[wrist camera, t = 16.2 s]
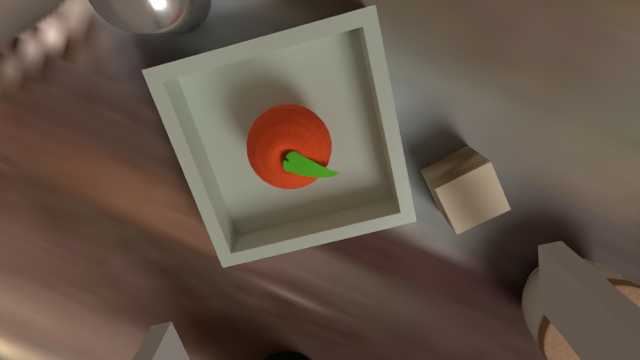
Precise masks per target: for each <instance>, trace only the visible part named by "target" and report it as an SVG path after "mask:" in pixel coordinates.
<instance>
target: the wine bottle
mask: <svg viewBox="0 0 640 360" xmlns="http://www.w3.org/2000/svg"><path fill="white" fill-rule="evenodd" d="M265 360H311V359H309V358H307V357H306V356H304V355H303V354H299V353H290V352H282V353H278V354H275V355H272V356H269V357H267V358H266V359H265Z"/></svg>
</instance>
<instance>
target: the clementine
mask: <svg viewBox="0 0 640 360" xmlns="http://www.w3.org/2000/svg"><path fill="white" fill-rule="evenodd" d="M246 146H247V157H248V160H249V163H250V165H251V167H252V169H253V170H254V172H255V173H256V174H257V175H258V176H259V177H260V178H261V179H262V180H263V181H264V182H266V183H268V184H270V185H272V186H274V187H278V188H282V189H297V188H302V187H305V186H307V185H309V184H311V183H313V182H315V181H316V180H317V179H318V178H319V177H321V178H324V177H332V176H336V175H337V174H339V173H340V172H335V171H332V170H329V169H327V166H328V163H329V160H330V156H331V153H332V141H331V137H330V133H329V130H328V129H327V127H326V125H325V123H324V122H323V121H322V120H321V119H320V118H319V117H318V116H317V115H316V114H315V113H314V112H313V111H311V110H309V109H307V108H306V107H303V106H299V105H295V104H283V105H279V106H275V107H272V108H270V109H269V110H267V111H265V112H263V113H262V114H261V115H260V116H259V117H258V118H257V119H256V120H255V121H254V123H253V125H252V126H251V128H250V130H249V133H248V138H247V144H246Z"/></svg>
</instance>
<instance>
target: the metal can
mask: <svg viewBox="0 0 640 360" xmlns="http://www.w3.org/2000/svg"><path fill="white" fill-rule="evenodd" d="M89 2H90V4H91V5H92V7H93V8H94V9H95V11H96V12H97V13H98V14H99V15H100V16H101V17H102V18H103V19H104V20H105V21H107V22H108V23H109V24H111V25H112V26H114V27H116V28H118V29H121V30H123V31H127V32H131V33H163V34H182V33H187V32H190V31H193V30H194V29H196V28H197V27H199V26H200V25H201V24H202V23H203V22H204V20H205V19H206V17H207V15H208V13H209V10H210V6H211V0H89Z"/></svg>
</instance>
